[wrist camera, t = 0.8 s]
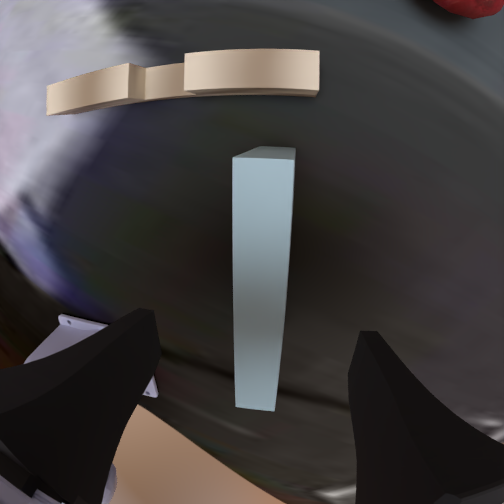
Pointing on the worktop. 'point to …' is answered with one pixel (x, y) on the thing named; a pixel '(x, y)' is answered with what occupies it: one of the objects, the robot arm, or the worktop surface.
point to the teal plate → (260, 269)
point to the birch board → (190, 79)
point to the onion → (471, 7)
